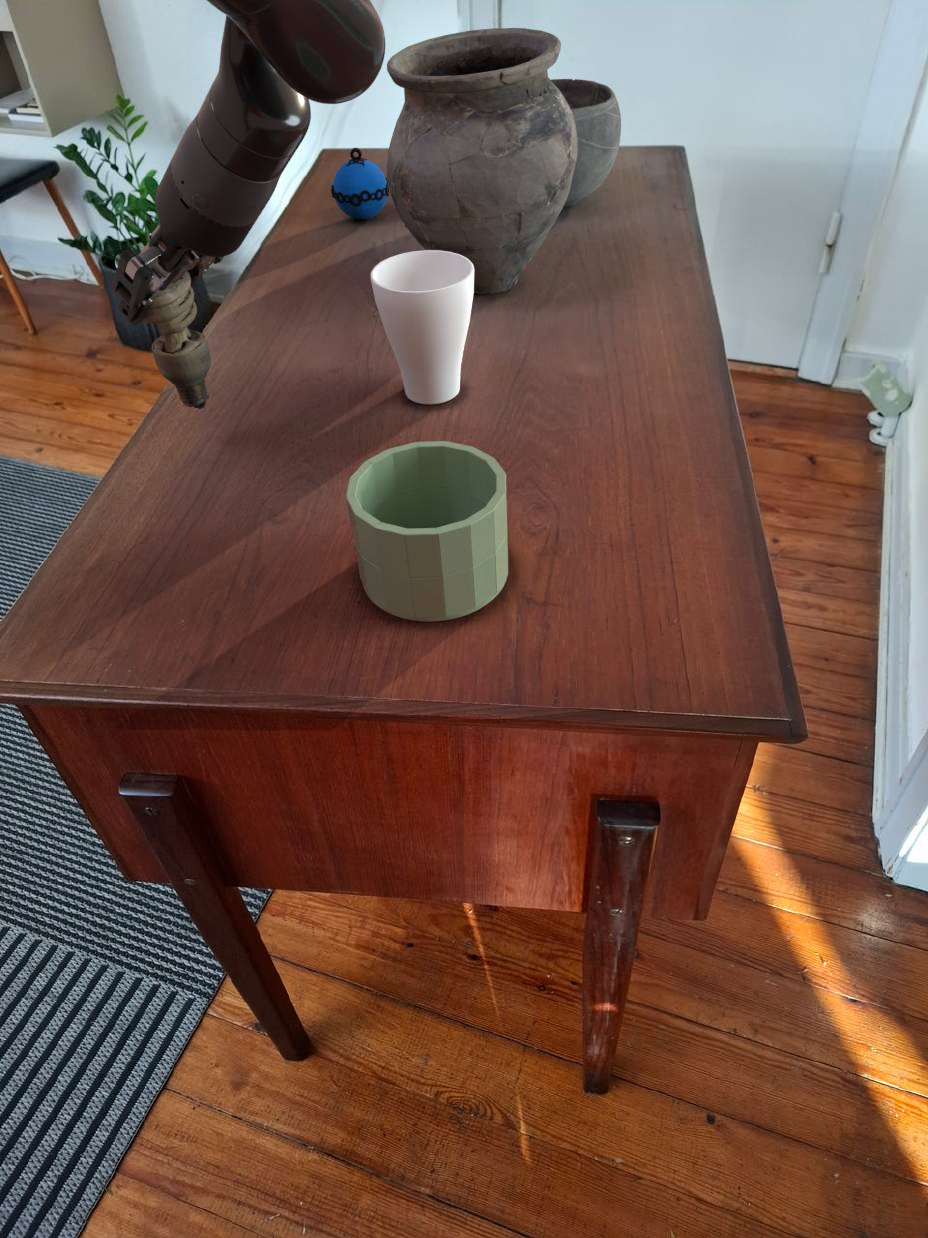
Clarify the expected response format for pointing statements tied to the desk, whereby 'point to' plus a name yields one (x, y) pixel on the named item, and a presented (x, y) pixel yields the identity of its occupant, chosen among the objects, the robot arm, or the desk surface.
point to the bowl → (591, 133)
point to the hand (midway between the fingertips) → (152, 302)
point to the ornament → (360, 187)
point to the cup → (426, 318)
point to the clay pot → (482, 148)
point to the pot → (430, 529)
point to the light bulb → (180, 342)
